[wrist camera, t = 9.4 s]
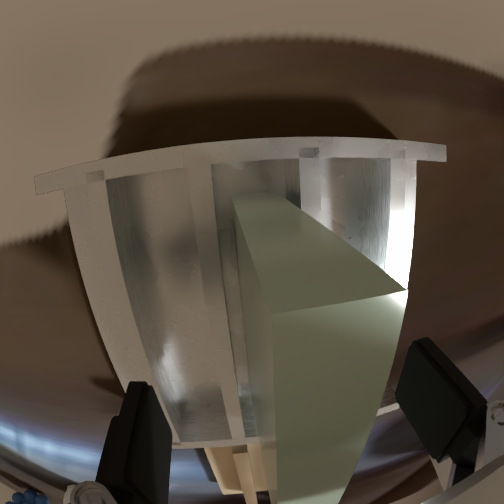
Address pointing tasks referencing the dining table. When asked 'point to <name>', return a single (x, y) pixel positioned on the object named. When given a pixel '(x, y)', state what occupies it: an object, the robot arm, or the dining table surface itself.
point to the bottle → (68, 494)
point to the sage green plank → (311, 345)
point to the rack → (218, 255)
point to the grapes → (28, 498)
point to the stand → (239, 469)
